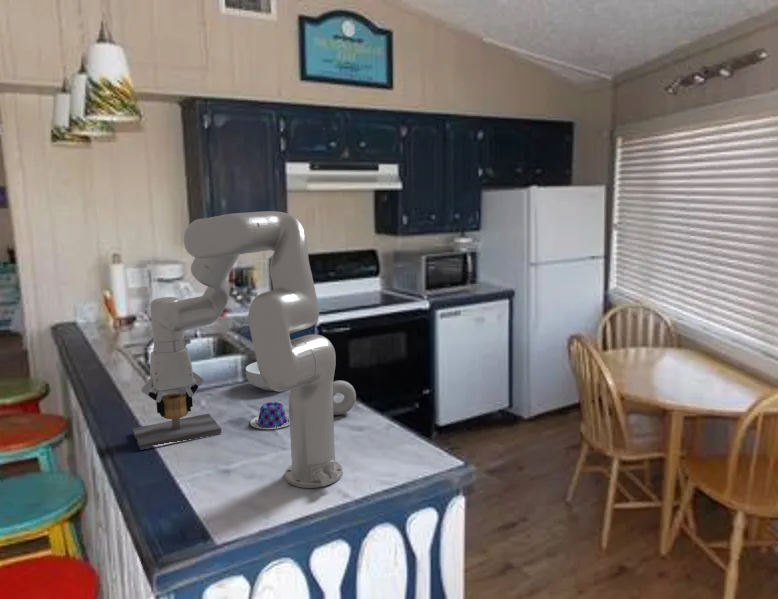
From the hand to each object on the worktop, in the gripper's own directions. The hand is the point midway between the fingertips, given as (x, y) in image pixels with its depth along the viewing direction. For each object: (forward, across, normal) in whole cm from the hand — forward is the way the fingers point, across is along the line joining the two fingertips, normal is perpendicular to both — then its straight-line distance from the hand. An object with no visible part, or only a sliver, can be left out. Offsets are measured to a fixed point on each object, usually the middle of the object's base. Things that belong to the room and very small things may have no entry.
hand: (175, 411), depth 160 cm
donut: (+6, -42, +11) cm, 44 cm away
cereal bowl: (+6, -35, -24) cm, 43 cm away
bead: (+1, 0, 0) cm, 1 cm away
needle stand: (+6, 0, 0) cm, 6 cm away
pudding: (+7, -24, +6) cm, 26 cm away
